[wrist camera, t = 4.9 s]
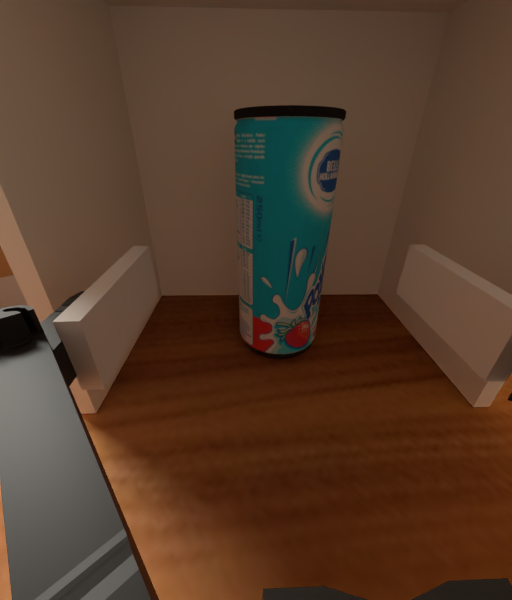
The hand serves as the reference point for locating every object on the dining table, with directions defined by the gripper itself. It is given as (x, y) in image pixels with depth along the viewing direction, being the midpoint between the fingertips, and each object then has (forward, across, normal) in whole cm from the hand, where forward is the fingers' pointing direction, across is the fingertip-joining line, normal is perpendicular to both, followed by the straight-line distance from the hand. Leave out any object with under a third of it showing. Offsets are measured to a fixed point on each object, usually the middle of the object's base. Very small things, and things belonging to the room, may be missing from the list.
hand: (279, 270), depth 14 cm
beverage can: (+5, +1, -8) cm, 9 cm away
